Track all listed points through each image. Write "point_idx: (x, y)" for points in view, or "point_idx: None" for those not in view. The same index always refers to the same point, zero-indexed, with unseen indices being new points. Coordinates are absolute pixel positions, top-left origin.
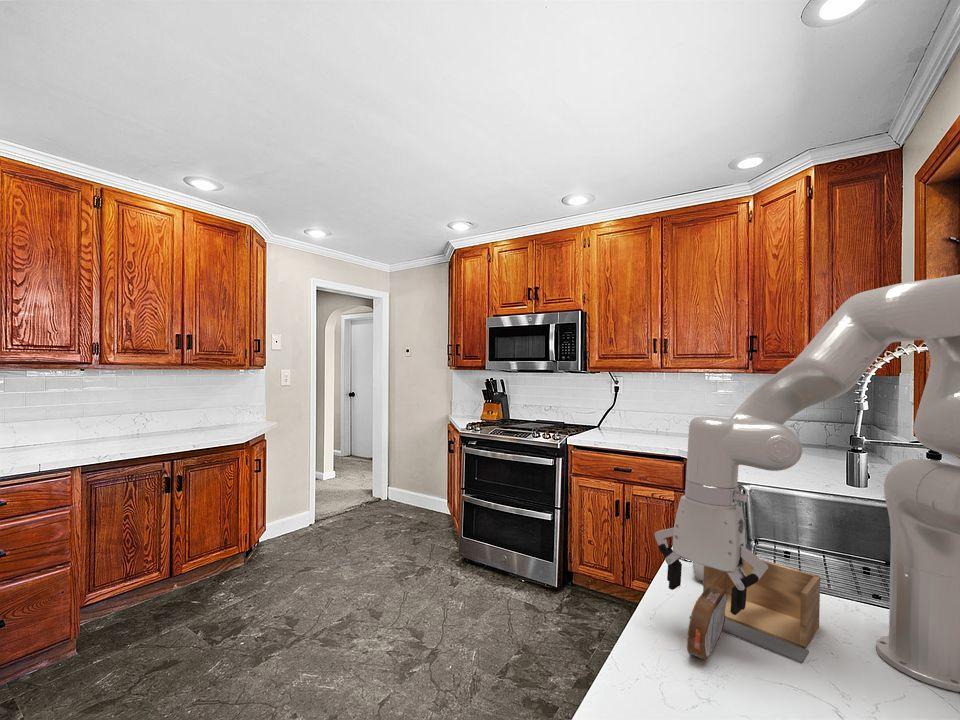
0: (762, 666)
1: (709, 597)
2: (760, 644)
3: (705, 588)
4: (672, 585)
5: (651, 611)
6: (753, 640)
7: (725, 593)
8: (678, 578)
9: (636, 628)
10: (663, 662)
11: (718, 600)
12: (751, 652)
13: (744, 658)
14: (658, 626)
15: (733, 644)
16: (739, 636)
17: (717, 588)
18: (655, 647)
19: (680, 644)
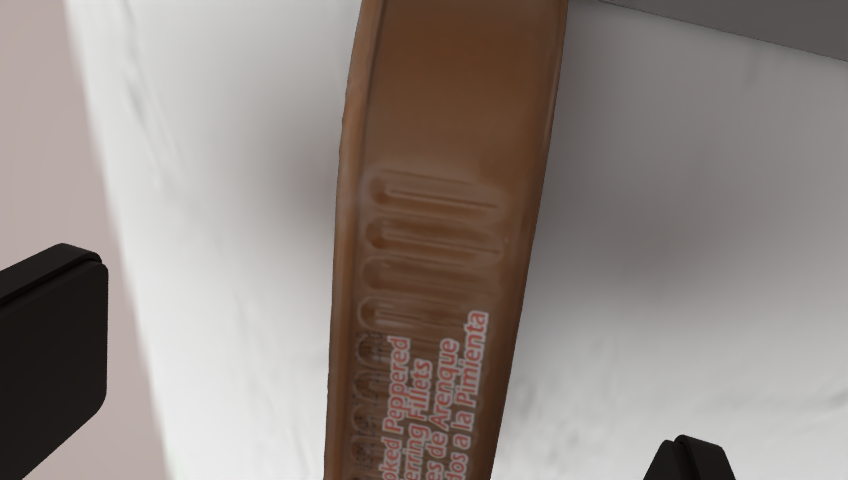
0: (769, 287)
1: (399, 460)
2: (809, 40)
3: None
4: (69, 429)
5: (106, 8)
6: (763, 7)
7: (548, 145)
8: (40, 363)
9: (134, 260)
10: (321, 462)
11: (485, 460)
12: (724, 163)
13: (671, 256)
14: (203, 175)
15: (614, 127)
16: (661, 14)
17: (446, 187)
18: (260, 375)
19: None
